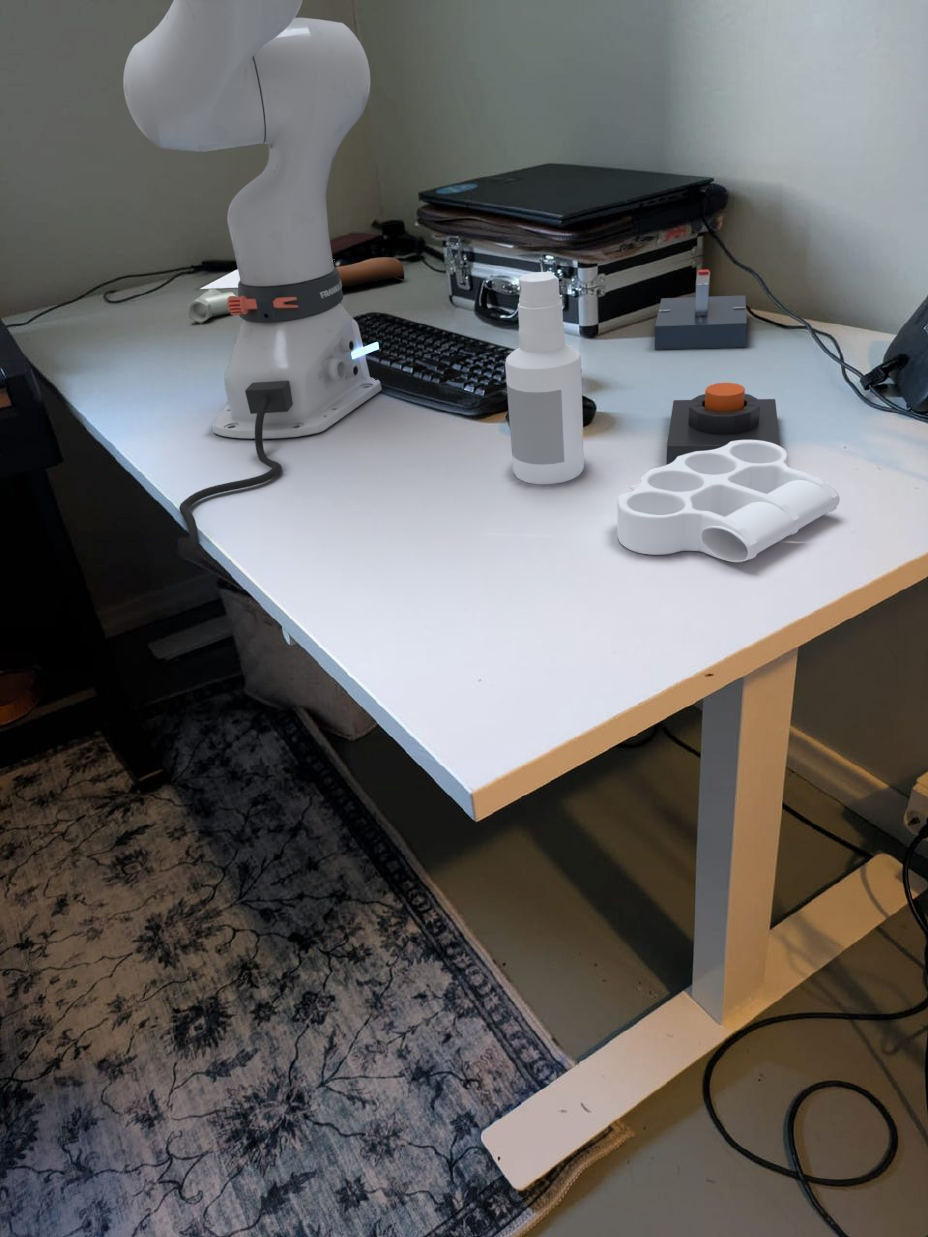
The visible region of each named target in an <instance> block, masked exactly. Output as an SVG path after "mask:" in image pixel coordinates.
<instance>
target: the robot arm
mask: <svg viewBox="0 0 928 1237" xmlns="http://www.w3.org/2000/svg"><path fill="white" fill-rule="evenodd" d="M303 2H304V0H173V1H172V3H171V5H170V7H169V9H168V10H167V12H166V13H165V15H164V17H163V18H162V19H161V21H160V22H159V24H158V25H157V26H155V28H154V29H153V30H152V31H151V32H150V33H148V35H147V36H145V37H144V38H143V39H141V40H140V41H139V42H137V43H135V44H134V45H133V47H132V48H131V50H130V52H129V54H128V56H127V59H126V62H125V65H124V70H123V78H122V80H123V81H122V82H123V84H122V86H123V95H124V99H125V103H126V107H127V109H128V111H129V114H130V116H131V118H132V120H133V122H134V123H135V125H136V127H137V128H138V130H140V132H141V133H142V134H143V135H144V136H145V137H146V138H147V140H149V141H150V142H151V143H152V144H153V145H154V146H156V147H157V148H159V149H163V150H173V151H184V152H203V153H204V152H210V151H219V150H224V149H231V148H239V147H244V146H252V145H260V144H263V145H268V146H267V147H268V158H267V162H266V165H265V168H264V169H263V171H262V172H261V173H260V174H258V175H257V176H256V177H255V178H253V179H252V180H251V181H250V182H248V183H247V184H246V185H245V186H243V187H242V188H241V189H240V190H239V191H238V192H237V193H236V194H235V196H234V197H233V198H232V200H231V201H230V203H229V206H228V210H227V216H226V223H227V226H228V230H229V235H230V240H231V244H232V245H231V246H232V249H233V253H234V257H235V258H234V259H235V262H236V267H237V269H238V272H239V276H240V281H239V283H238V288H237V295H236V296H237V297H236V296H229V297H228V299H227V301H228V302H227V305H229V306H227V309H229V310H228V311H229V312H231V313H229V314H230V315H232V316H236V315H238V316H239V317H240V319H241V322H240V326H239V330H238V334H237V336H236V339H235V342H234V345H233V347H232V350H231V354H230V357H229V360H228V363H227V367H226V369H225V372H224V388H225V393H226V394H225V395H226V399H227V404H226V405H225V406H224V408H223V409H222V410H221V412H220V413H219V415H218V416H217V417H216V419H215V420H214V422H213V423H212V425H211V426H212V432H213V433H214V434H215V435H218V436H222V437H226V438H235V439H254V444H255V452H256V455H257V458H258V459H259V461H260V462H261V463H262V464H264V465H265V466H267V467H268V468H270V469H269V470H268V471H267V472H265V473H263V474H260V475H257V476H253V477H249V478H244V479H240V480H235V481H231V482H230V481H229V482H225V483H221V484H216V485H211V486H208V487H206V488H203V489H201V490H198V491H196V492H193V493H192V494H191V495H189V496H188V497H187V498H185V499H184V500H183V501H182V502H181V503H180V505H179V508H178V509H179V512H180V515H181V516H182V517H183V519H184V521H185V523H186V526H187V531H188V539H189V540H188V542H189V547H190V548H192V549H193V548H197V547H198V546H199V545H200V540H199V532H198V531H199V530H198V526H197V522H196V519H195V517H194V516H195V515H194V514H193V513H192V512H191V510H190V508H191V507H192V506H193V505H195V504H196V503H197V502H199V501H201V500H202V499H203V500H204V498H207V497H210V496H214V495H217V494H222V493H225V492H231V491H235V490H240V489H245V488H250V487H255V486H257V485H260V484H263V483H266V482H268V481H270V480H273V479H274V478H276V477H277V476H278V475H279V474H280V473H281V471H282V464H280V463H279V462H277V461H275V460H273V459H270V458H269V457H268V456H267V455H266V453H265V448H264V441H263V440H264V439H265V440H266V439H267V440H268V439H286V438H296V437H303V436H309V435H314V434H319V433H321V432H324V431H325V430H327V429H329V428H330V427H331V426H333V425H335V423H337V422H338V421H340V420H341V419H343V418H344V417H345V416H348V414H350V413H351V412H353V411H354V410H356V409H357V408H359V407H360V406H361V405H363V404H364V403H365V402H367V401H368V400H370V399H371V398H372V397H374V396H376V395H377V394H379V392H381V391H382V390H383V388H382V384H381V381H380V379H377V380H375V379H376V378H375V379H374V377H371V376H370V371H369V366H368V362H367V358H366V355H367V354H369V353H372V352H374V351H377V350H379V349H380V347H379V346H380V345H379V342H378V341H376V342H373V343H370V344H368V345H366V346H364V345H363V341H362V335H361V330H360V327H359V324H358V322H357V321H356V320H355V319H354V318H353V317H352V316H351V315H350V314H349V313H348V311H347V310H346V309H345V307H344V305H343V302H342V301H343V299H344V294H343V287H342V283H341V279H340V277H339V272H338V269H337V268H336V266H335V264H334V262H333V260H334V259H333V251H332V246H331V237H330V230H329V219H328V207H327V206H328V205H327V204H328V203H327V199H328V198H327V195H328V194H327V193H328V183H329V178H330V173H331V170H332V167H333V163H334V160H335V157H336V155H337V152H338V150H339V148H340V146H341V144H342V142H343V141H344V139H345V138H346V136H347V135H348V133H349V132H350V131H351V129H352V128H353V127H354V126H355V124H357V122H359V120H360V119H361V117H362V116H363V114H364V112H365V109H366V107H367V105H368V101H369V98H370V93H371V84H372V83H371V81H372V80H371V70H370V65H369V60H368V57H367V54H366V51H365V49H364V46H362V44H361V42H360V40H359V39H358V38H357V36H356V35H355V33H354V32H353V31H352V30H351V29H350V28H349V27H348V26H347V25H346V24H344V22H340V21H332V20H325V19H318V18H308V17H297V15H298V13H299V11H300V9H301V6H302V4H303Z"/></svg>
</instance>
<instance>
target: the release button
mask: <svg viewBox="0 0 928 1237" xmlns="http://www.w3.org/2000/svg"><path fill="white" fill-rule="evenodd" d="M704 394H705V408H706V409H708V410H713V411H734V410H739V409H742V408H743V407H744V396H745V394H746V388H745V386H743V385H741V384H739V383H734V382H718V383H713V384H710V385H708V386H707V387H706V388H705V391H704Z"/></svg>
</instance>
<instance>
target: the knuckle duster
mask: <svg viewBox="0 0 928 1237" xmlns="http://www.w3.org/2000/svg"><path fill="white" fill-rule="evenodd" d="M788 460H789V455H788V452H787V451H786V449H785V448H783V447H782V446H781V445H780V446H779V445H776V444H774V443H770V442H766V441H760V440H737V441H731V442H729V443H728V444H727V445H725V446H723V447H720V448H717V449H713V450H707V451H695V452H691V453H688V454H684V455H681V456H678V457H677V458H676V459H675V460H674V461H673V462H672V463H670V464H668V465H666V464H665V465H663V466H658V467H653V468H650V470H648V471H647V472H646V473H644V474H643V475H642V476H641V477H640V480H639V483H637V484H634V485H631V486H628V489H630V491H628V492H624V493H621V494H620V495H619V496H618V498H617V500H616V501H617V502H616V516H617V517H616V521H617V522H616V523H617V524H616V525H617V527H616V528H617V529H616V531H617V534H616V535H617V539H618V542H619V543H620V544H621V545H622V546H623V547H625V548H626V549H628V550H630V551H632V552H635V553H638V554H643V555H652V556H661V555H671V554H675V553H679V552H685V551H686V552H702V553H703V554H705V555H708V556H711V557H713V558H715V559H719V560H723V561H727V562H731V563H742V562H745V561H748V560H749V561H750V560H753V559H755V558H756V557H757V555H758V554H759V553H761V552H763V551H764V550H766V549H768V548H769V547H771V546H773V545H775V544H776V543H778V542H780V541H782V540H783V539H785V538H787V537H788V536H793V535H794V534H796V533H798V531H799V530H800V529H802V528H803V527H805V526H807V525H809V524H810V523H812V522H814V521H816V520H817V519H819V518H820V517H823V516H824V515H826V514H828V513H831V512H833V511H835V510H837V507H838V506H839V504H840V502H841V501H840V500H841V499H840V494H839V493H838V491H837V489H835V487H833V486H832V485H831V484H830V483H828V482H827V481H825V480H824V479H822V478H819V477H817V476H815V475H813V474H810V473H809V472H805V471H802V470H799V469H795V468H791V467H789V466H788Z"/></svg>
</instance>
